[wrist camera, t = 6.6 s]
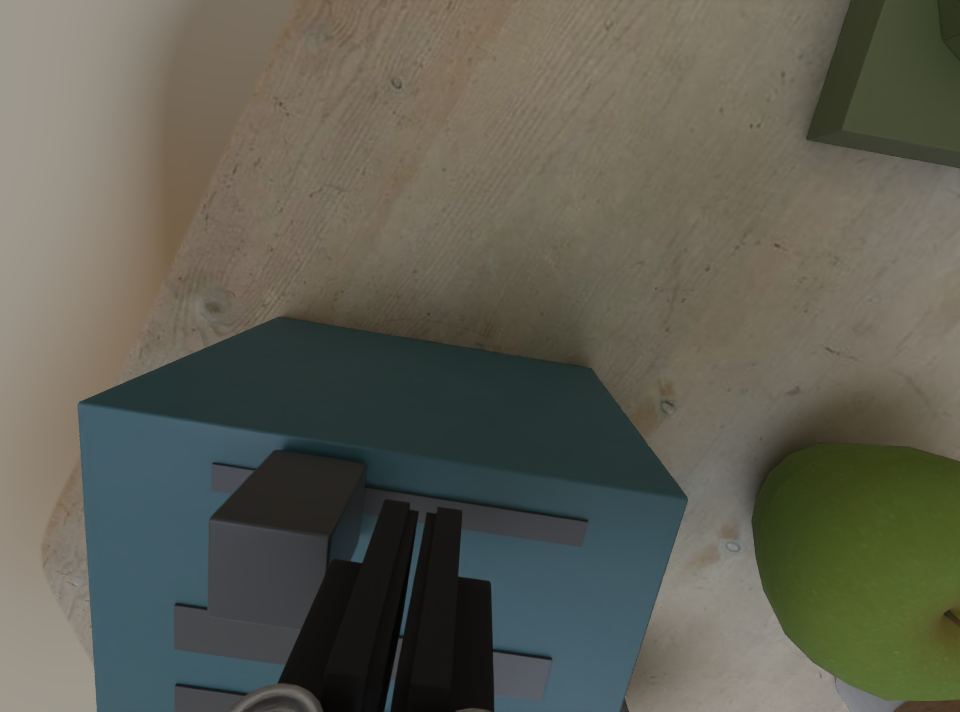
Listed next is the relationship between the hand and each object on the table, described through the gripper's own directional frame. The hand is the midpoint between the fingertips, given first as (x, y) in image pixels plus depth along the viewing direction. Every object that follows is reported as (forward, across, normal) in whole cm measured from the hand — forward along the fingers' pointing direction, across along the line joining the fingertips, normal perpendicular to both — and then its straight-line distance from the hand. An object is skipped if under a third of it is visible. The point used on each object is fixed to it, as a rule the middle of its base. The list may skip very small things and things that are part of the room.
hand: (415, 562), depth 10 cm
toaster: (+14, +1, +5) cm, 15 cm away
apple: (+14, -20, +4) cm, 25 cm away
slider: (+2, +3, 0) cm, 4 cm away
